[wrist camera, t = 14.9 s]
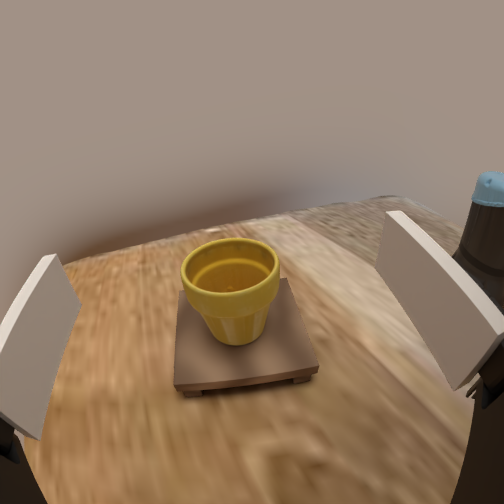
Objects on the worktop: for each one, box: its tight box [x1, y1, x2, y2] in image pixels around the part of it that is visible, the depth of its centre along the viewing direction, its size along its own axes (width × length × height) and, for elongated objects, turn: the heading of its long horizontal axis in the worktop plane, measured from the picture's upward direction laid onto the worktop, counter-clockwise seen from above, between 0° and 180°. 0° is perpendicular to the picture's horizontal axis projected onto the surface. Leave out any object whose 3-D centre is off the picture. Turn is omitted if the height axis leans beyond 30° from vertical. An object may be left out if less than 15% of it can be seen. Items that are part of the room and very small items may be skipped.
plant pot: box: [180, 238, 280, 346], centre depth 32 cm, size 10×10×10 cm
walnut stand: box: [174, 278, 319, 397], centre depth 36 cm, size 16×16×4 cm
